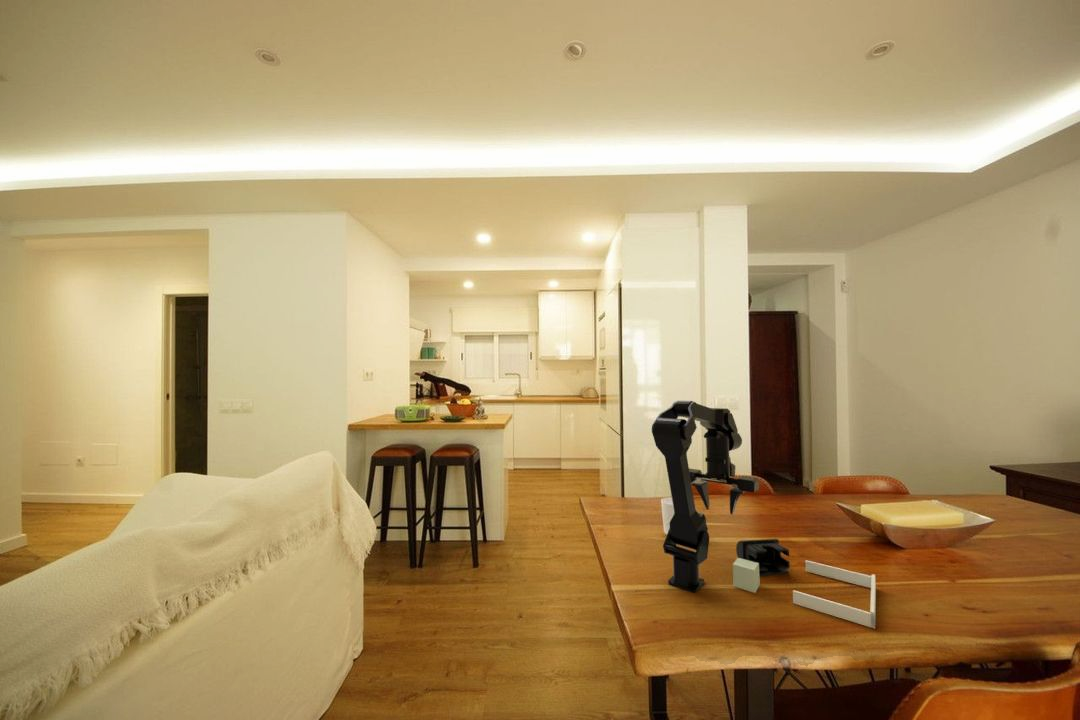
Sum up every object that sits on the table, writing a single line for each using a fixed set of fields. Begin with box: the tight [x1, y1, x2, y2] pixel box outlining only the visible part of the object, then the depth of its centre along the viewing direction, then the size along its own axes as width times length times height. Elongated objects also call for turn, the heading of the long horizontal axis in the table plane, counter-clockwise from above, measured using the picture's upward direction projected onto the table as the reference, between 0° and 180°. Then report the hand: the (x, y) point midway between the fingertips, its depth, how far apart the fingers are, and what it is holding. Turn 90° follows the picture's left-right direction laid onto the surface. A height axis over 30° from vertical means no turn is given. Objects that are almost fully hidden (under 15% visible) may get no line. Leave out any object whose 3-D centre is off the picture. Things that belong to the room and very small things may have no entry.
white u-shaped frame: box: [792, 559, 877, 629], centre depth 85 cm, size 19×13×3 cm
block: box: [732, 557, 761, 594], centre depth 90 cm, size 4×4×5 cm
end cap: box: [735, 538, 791, 577], centre depth 98 cm, size 10×7×7 cm
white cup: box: [660, 496, 674, 536], centre depth 121 cm, size 8×8×10 cm
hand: (719, 511), depth 105 cm, fingers open, 6 cm apart
